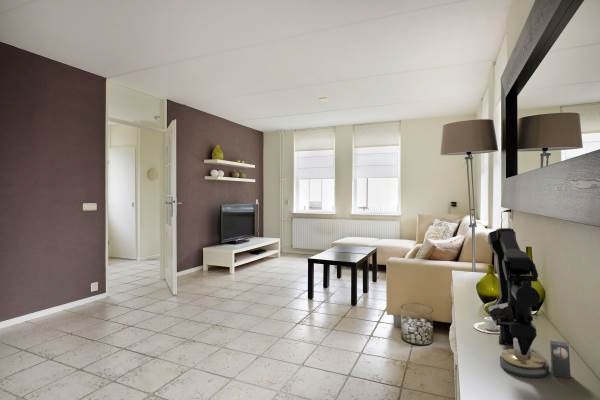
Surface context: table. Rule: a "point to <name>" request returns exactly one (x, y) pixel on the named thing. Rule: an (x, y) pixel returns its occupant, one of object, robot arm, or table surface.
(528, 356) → the cylinder
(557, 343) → the base
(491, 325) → the candle holder
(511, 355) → the pan
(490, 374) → the table surface
